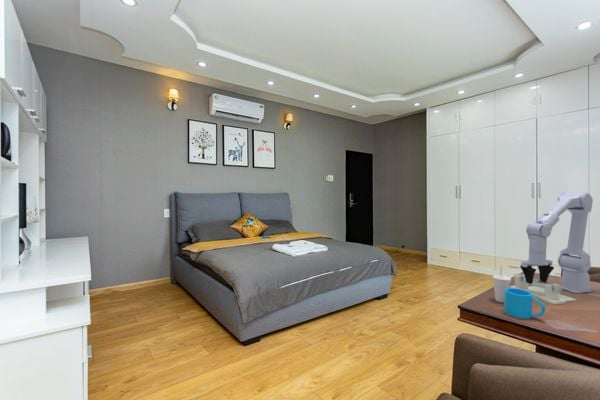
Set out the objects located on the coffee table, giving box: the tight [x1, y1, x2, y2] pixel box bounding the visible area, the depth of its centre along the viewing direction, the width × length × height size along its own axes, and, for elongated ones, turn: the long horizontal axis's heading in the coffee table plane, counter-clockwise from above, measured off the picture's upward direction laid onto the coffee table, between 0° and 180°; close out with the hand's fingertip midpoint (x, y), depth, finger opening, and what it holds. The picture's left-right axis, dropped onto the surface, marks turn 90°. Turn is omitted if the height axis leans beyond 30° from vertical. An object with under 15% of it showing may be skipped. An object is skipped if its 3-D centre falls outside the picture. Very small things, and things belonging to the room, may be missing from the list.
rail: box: [513, 273, 562, 293], centre depth 126 cm, size 2×18×2 cm, turn 13°
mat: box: [528, 285, 578, 303], centre depth 128 cm, size 7×17×1 cm, turn 13°
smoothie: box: [492, 266, 512, 303], centre depth 120 cm, size 6×6×14 cm
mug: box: [503, 287, 546, 319], centre depth 106 cm, size 12×8×8 cm
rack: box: [509, 273, 567, 305], centre depth 126 cm, size 6×19×7 cm, turn 13°
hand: (536, 282), depth 126 cm, fingers open, 7 cm apart
